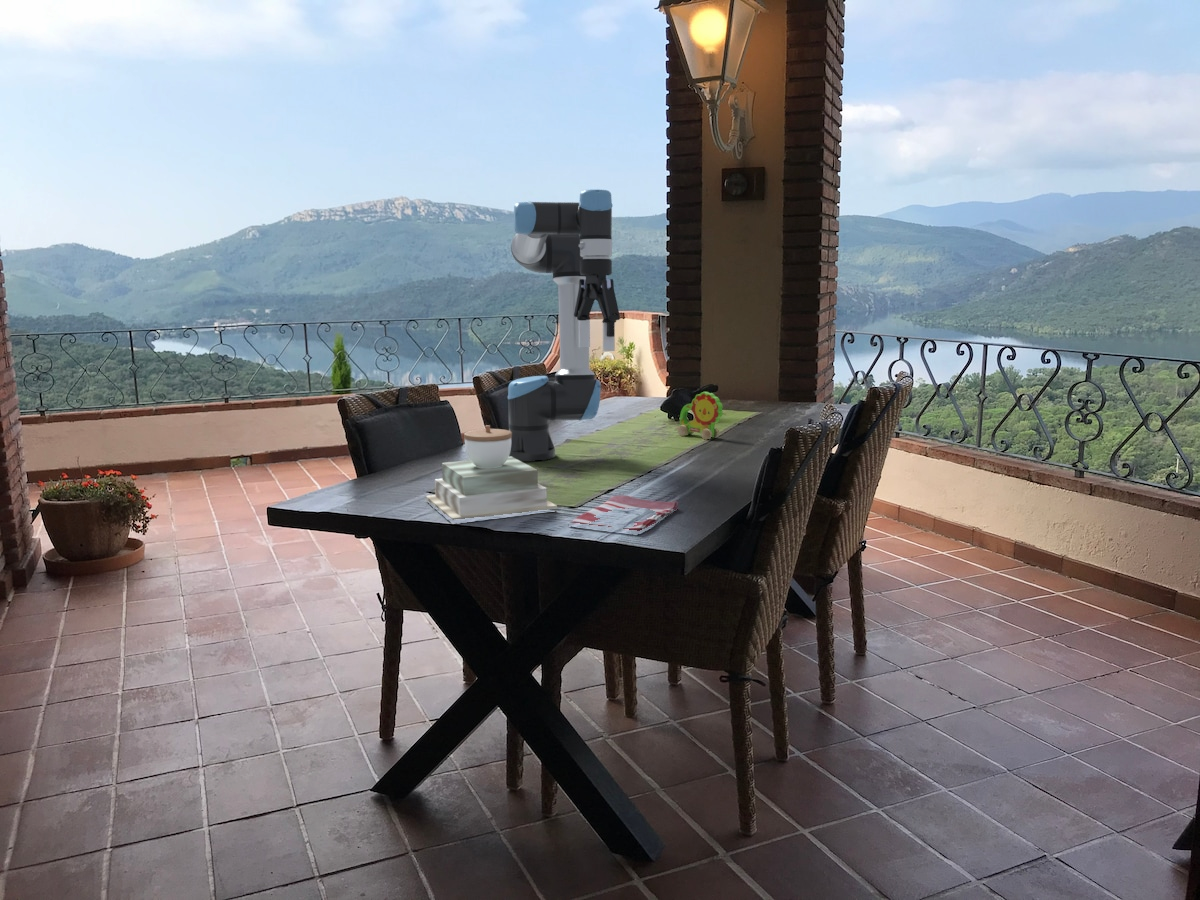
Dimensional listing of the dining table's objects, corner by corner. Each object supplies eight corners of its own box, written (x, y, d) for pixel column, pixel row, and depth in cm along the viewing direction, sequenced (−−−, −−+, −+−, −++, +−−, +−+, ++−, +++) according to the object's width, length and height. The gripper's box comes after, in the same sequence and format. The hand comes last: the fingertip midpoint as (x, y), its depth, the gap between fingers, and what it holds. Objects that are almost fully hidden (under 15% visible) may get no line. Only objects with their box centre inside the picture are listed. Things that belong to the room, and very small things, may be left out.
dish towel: (680, 511, 199) (680, 500, 199) (640, 539, 178) (641, 526, 178) (611, 504, 206) (611, 493, 206) (566, 529, 185) (566, 517, 185)
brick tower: (426, 501, 206) (424, 462, 204) (522, 491, 216) (521, 453, 215) (452, 525, 187) (451, 481, 185) (556, 512, 197) (556, 470, 195)
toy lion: (676, 435, 292) (676, 390, 289) (686, 433, 296) (687, 388, 293) (715, 441, 282) (716, 394, 279) (725, 439, 285) (726, 392, 283)
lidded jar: (474, 473, 193) (472, 430, 191) (458, 464, 202) (457, 423, 200) (519, 468, 198) (518, 427, 196) (502, 459, 207) (501, 420, 205)
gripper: (560, 259, 216) (561, 346, 220) (604, 256, 194) (604, 353, 198) (588, 259, 219) (588, 344, 223) (634, 257, 197) (634, 352, 201)
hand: (596, 349), depth 211 cm, fingers open, 13 cm apart
